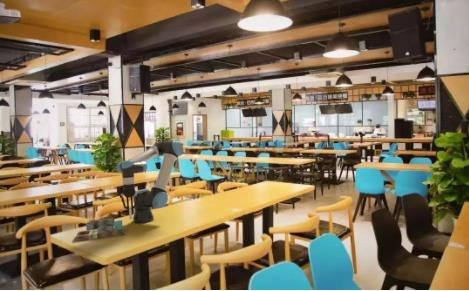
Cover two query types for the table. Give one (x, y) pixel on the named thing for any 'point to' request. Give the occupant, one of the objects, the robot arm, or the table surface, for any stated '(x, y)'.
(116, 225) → the teal block
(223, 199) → the table surface
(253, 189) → the table surface
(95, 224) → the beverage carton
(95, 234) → the brown piece
